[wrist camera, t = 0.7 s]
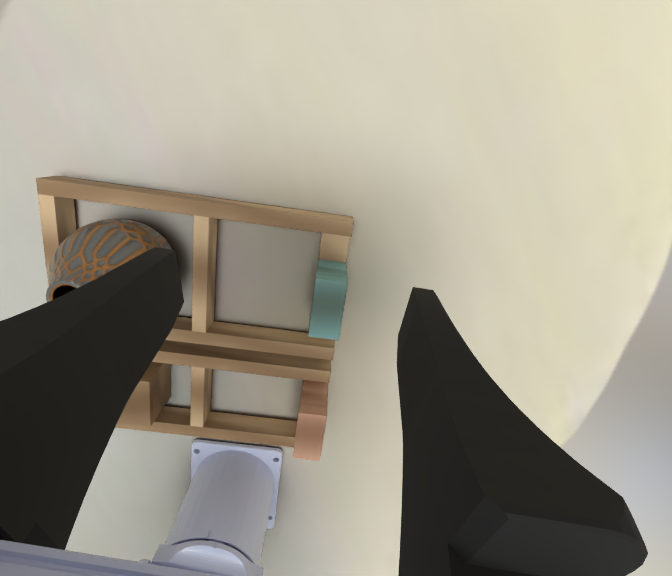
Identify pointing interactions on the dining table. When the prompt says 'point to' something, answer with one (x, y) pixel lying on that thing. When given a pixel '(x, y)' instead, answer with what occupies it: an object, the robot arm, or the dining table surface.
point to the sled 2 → (241, 427)
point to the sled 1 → (201, 327)
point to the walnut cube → (148, 396)
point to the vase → (98, 252)
